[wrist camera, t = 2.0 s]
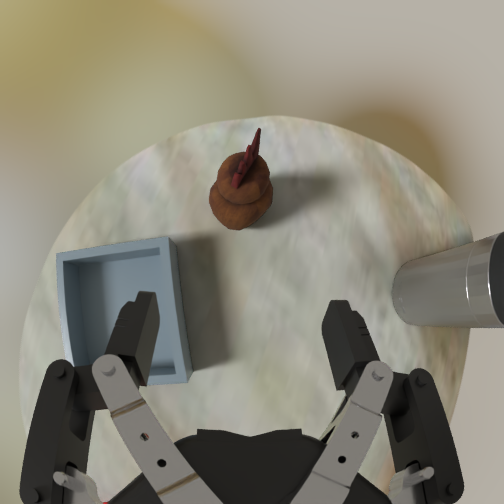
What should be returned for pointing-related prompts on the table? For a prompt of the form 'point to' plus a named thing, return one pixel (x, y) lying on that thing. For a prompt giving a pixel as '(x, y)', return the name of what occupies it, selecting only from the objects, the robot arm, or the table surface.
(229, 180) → the wooden figurine
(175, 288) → the box
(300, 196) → the table surface
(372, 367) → the robot arm
